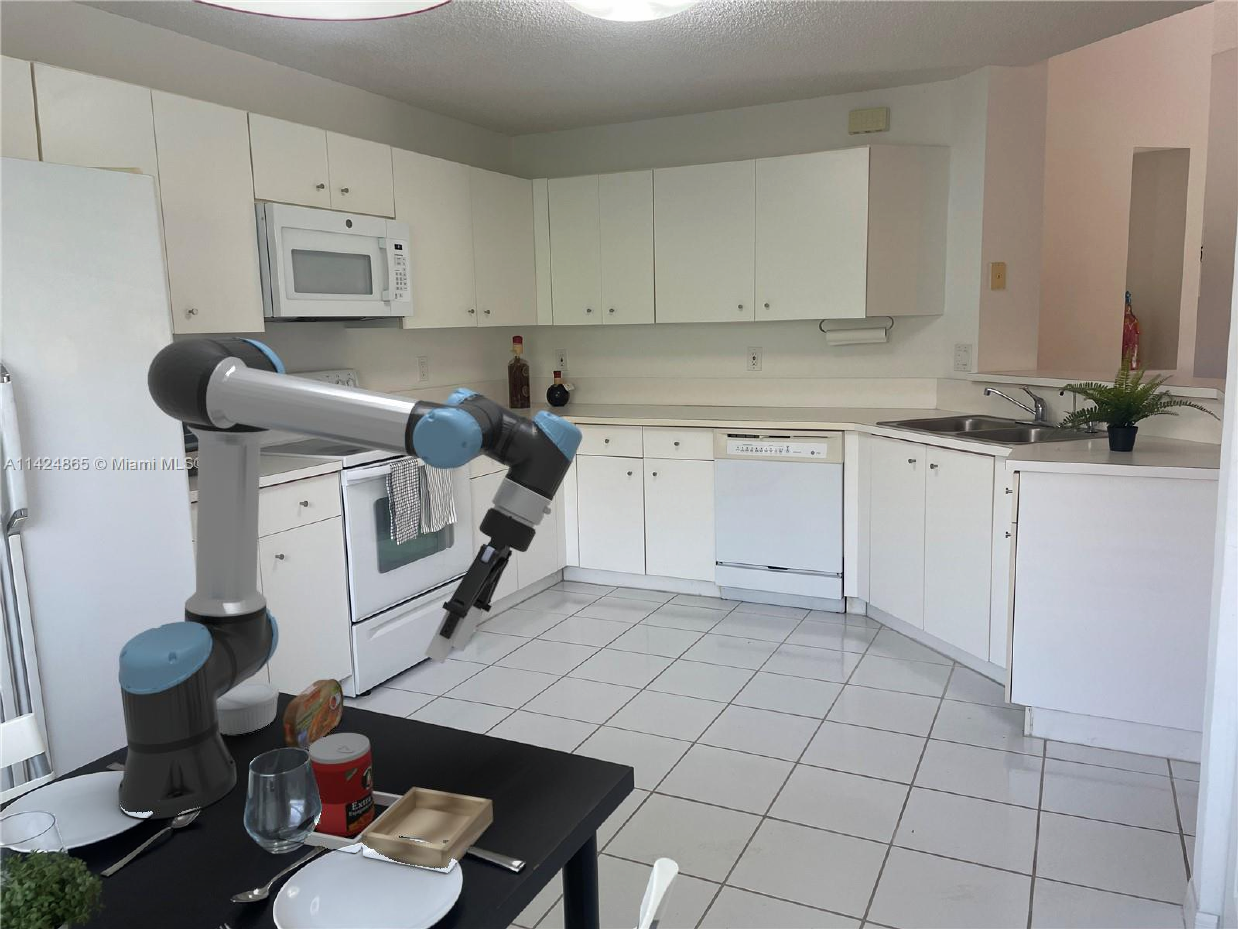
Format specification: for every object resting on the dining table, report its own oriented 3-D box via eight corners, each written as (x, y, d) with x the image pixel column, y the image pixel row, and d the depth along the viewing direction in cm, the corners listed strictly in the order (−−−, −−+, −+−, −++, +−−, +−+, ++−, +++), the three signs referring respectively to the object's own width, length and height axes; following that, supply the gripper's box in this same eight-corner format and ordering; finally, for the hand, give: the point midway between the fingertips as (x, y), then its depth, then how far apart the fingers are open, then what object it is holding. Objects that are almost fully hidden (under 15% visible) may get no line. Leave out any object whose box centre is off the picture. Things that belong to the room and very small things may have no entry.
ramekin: (196, 740, 142) (193, 709, 141) (225, 711, 153) (223, 682, 152) (266, 738, 142) (263, 707, 141) (290, 709, 153) (287, 680, 152)
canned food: (358, 841, 112) (352, 761, 110) (301, 835, 114) (295, 756, 112) (385, 810, 119) (380, 734, 118) (332, 804, 121) (326, 730, 119)
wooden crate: (362, 856, 109) (361, 834, 108) (414, 807, 120) (413, 786, 119) (447, 873, 105) (446, 851, 104) (493, 821, 116) (492, 800, 116)
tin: (300, 760, 134) (295, 709, 133) (281, 759, 135) (277, 707, 133) (346, 718, 149) (343, 671, 147) (329, 717, 149) (326, 670, 148)
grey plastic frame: (279, 839, 113) (278, 828, 113) (335, 794, 124) (334, 784, 124) (355, 854, 109) (354, 843, 109) (406, 806, 120) (405, 796, 120)
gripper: (526, 526, 111) (450, 678, 109) (546, 530, 136) (484, 653, 134) (474, 500, 111) (397, 651, 110) (503, 508, 136) (441, 631, 135)
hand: (444, 653), depth 122 cm, fingers open, 13 cm apart
